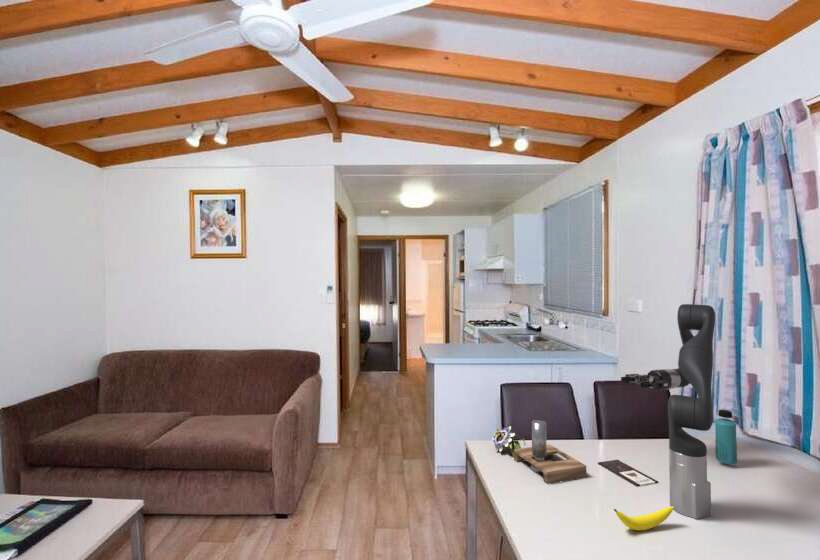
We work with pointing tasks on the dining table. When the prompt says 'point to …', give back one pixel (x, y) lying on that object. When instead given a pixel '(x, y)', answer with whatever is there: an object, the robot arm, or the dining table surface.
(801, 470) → the dining table surface
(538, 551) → the dining table surface
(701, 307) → the robot arm
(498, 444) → the passion flower
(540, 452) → the keyhole post
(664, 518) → the banana
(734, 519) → the dining table surface
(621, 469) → the chocolate bar
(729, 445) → the beverage bottle
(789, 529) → the dining table surface
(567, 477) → the keyhole plate
